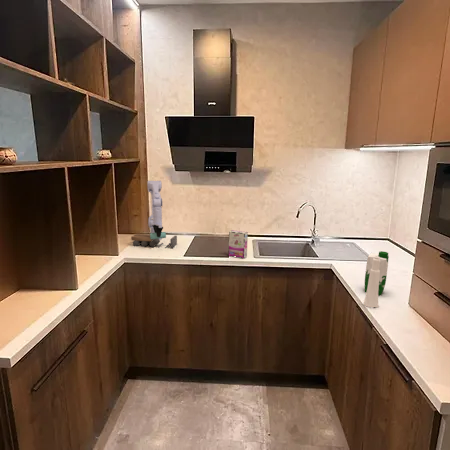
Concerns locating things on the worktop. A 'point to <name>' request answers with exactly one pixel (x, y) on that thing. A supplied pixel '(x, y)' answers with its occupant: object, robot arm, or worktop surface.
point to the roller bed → (145, 243)
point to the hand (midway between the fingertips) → (157, 236)
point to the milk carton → (382, 267)
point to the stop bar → (173, 242)
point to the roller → (154, 235)
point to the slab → (141, 237)
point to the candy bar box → (238, 243)
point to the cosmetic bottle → (373, 284)
